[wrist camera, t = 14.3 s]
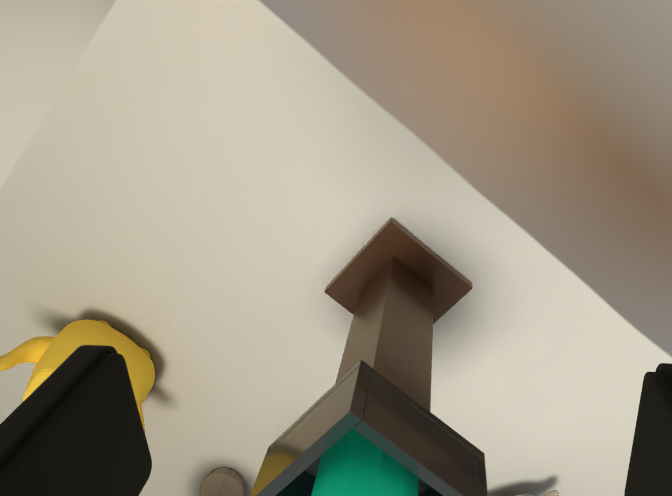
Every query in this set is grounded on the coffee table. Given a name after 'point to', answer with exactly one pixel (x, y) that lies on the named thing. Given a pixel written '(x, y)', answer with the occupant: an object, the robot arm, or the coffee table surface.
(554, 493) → the sculpture
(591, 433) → the coffee table surface
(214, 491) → the decorative mushroom
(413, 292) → the stand
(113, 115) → the coffee table surface
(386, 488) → the candle
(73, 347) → the teapot
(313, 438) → the socket
